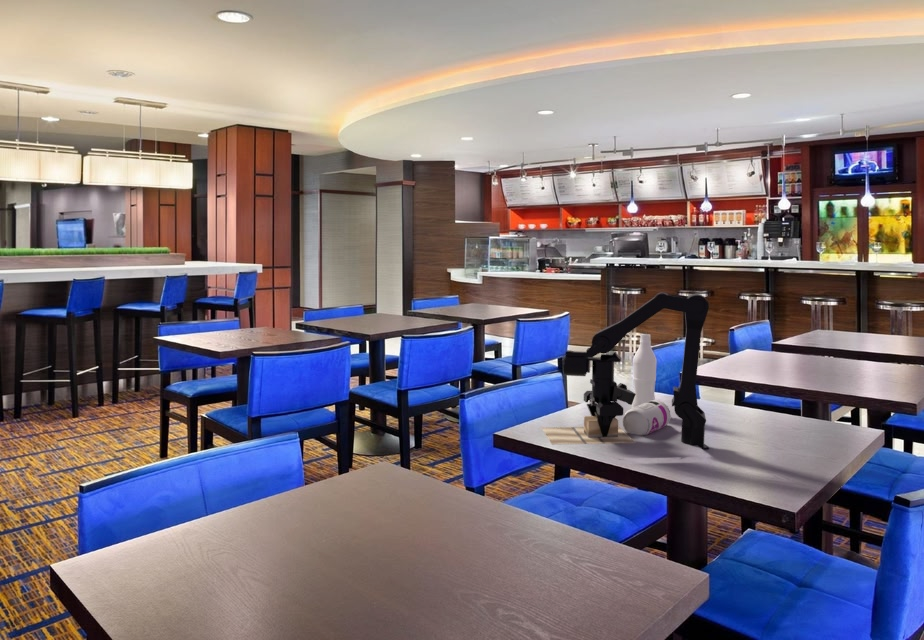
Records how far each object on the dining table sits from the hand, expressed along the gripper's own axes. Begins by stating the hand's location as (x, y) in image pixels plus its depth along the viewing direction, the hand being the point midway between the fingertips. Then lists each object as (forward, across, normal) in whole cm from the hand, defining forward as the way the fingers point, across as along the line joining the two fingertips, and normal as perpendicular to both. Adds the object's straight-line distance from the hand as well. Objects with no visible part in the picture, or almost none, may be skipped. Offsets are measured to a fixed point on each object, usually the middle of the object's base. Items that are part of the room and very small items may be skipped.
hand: (602, 433), depth 183 cm
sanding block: (0, 0, 0) cm, 0 cm away
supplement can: (-2, +11, -19) cm, 22 cm away
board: (+1, 0, +4) cm, 4 cm away
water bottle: (+2, +26, -20) cm, 33 cm away
